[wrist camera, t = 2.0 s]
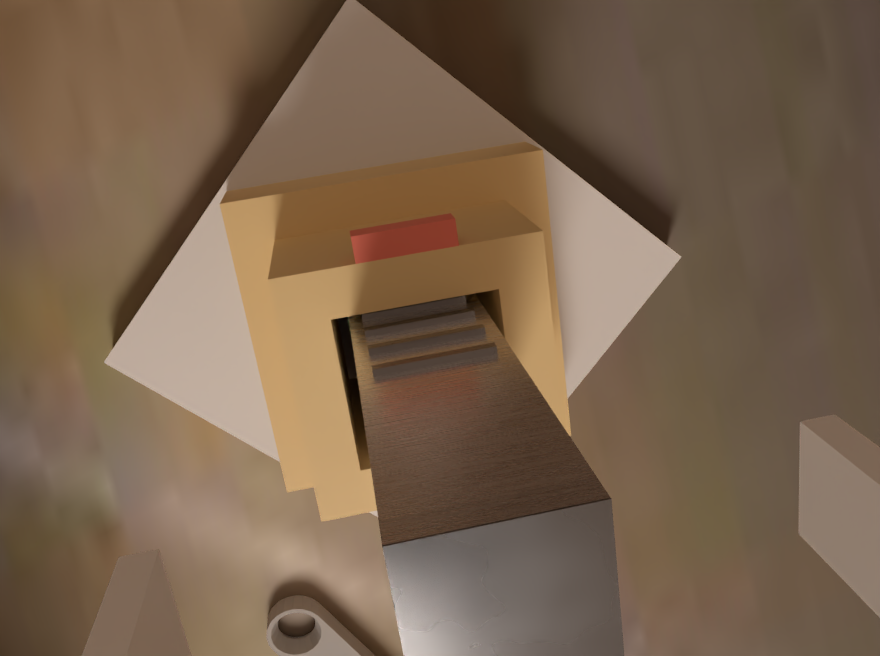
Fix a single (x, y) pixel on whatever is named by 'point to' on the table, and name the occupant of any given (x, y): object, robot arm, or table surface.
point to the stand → (378, 257)
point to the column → (480, 493)
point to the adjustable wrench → (312, 632)
